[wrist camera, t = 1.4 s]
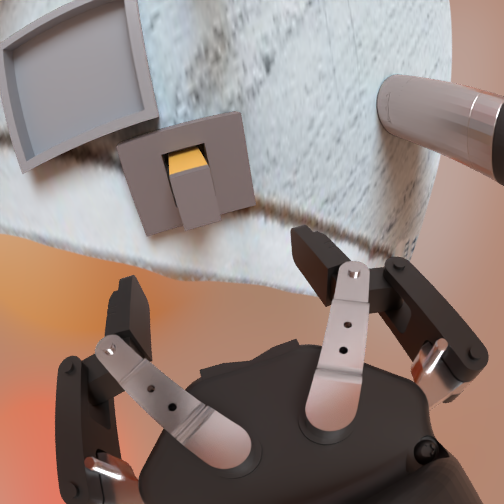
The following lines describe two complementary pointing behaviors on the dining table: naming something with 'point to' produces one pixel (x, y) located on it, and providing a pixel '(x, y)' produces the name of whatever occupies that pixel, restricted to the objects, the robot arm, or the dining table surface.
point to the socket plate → (178, 137)
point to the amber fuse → (193, 188)
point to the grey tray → (74, 78)
